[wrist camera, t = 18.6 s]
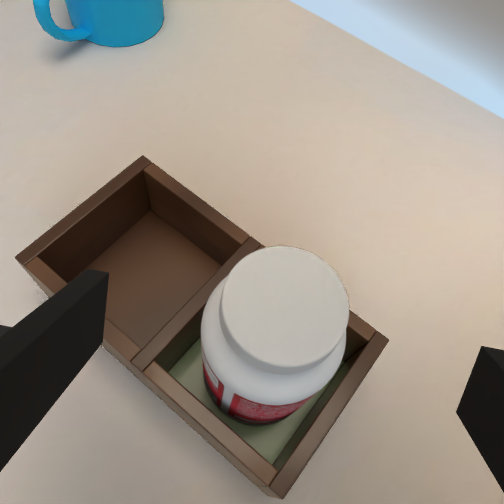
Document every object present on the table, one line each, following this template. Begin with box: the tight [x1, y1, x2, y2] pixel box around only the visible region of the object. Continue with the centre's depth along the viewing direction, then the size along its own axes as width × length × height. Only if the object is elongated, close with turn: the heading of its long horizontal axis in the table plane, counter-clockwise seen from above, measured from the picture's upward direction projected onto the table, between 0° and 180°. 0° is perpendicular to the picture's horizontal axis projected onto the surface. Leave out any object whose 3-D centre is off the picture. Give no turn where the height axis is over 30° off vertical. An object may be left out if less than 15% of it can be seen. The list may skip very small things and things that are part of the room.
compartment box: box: [15, 156, 389, 500], centre depth 25 cm, size 18×9×5 cm, turn 51°
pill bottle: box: [201, 246, 349, 426], centre depth 21 cm, size 6×6×11 cm
